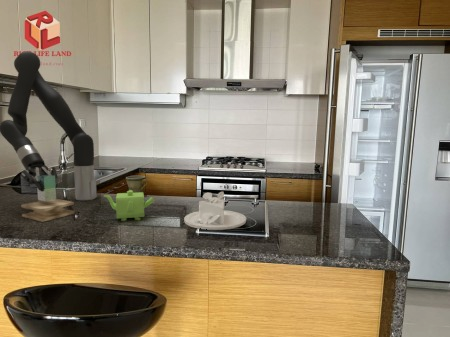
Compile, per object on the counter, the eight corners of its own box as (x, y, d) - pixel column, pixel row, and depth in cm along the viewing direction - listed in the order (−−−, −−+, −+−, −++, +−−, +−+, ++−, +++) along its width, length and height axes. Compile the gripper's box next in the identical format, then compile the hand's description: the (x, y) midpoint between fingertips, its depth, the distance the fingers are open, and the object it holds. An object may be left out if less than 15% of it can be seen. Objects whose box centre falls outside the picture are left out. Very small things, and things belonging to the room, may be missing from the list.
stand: (54, 209, 146) (53, 198, 145) (74, 213, 139) (73, 202, 139) (22, 216, 134) (21, 204, 133) (42, 221, 127) (41, 209, 127)
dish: (177, 215, 139) (177, 189, 137) (232, 210, 148) (232, 186, 146) (193, 233, 116) (193, 202, 114) (256, 226, 125) (257, 197, 123)
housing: (49, 197, 139) (47, 174, 138) (56, 199, 137) (55, 175, 135) (38, 199, 135) (36, 175, 134) (45, 201, 133) (43, 177, 131)
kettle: (103, 219, 131) (102, 192, 129) (129, 211, 143) (128, 186, 142) (132, 225, 124) (131, 196, 123) (156, 216, 136) (155, 189, 135)
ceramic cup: (122, 196, 174) (121, 177, 173) (135, 192, 183) (135, 175, 182) (141, 198, 168) (140, 179, 167) (153, 195, 177) (153, 177, 176)
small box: (46, 191, 183) (45, 173, 182) (39, 194, 177) (37, 175, 176) (29, 191, 184) (27, 173, 183) (20, 193, 178) (19, 174, 177)
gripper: (16, 153, 131) (35, 186, 126) (50, 151, 143) (69, 181, 139) (9, 165, 134) (28, 197, 130) (43, 162, 146) (61, 191, 142)
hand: (49, 189), depth 134 cm, fingers closed on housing, 4 cm apart
